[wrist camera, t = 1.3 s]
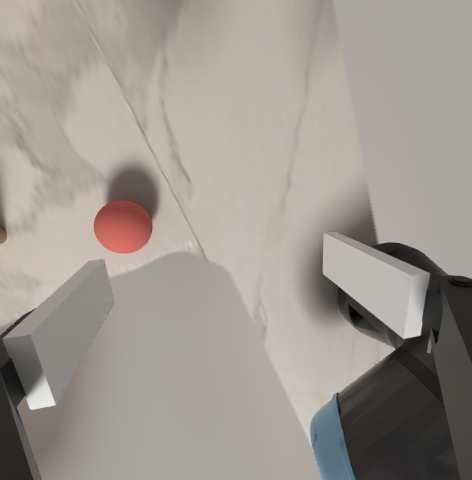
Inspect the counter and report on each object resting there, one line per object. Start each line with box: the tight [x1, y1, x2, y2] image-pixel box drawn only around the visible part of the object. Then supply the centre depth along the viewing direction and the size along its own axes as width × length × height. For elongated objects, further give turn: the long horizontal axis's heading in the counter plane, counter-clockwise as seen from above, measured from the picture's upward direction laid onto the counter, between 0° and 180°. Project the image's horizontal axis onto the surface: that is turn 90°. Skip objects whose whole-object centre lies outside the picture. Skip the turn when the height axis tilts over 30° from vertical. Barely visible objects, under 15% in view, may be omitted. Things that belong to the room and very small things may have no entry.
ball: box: [94, 200, 152, 253], centre depth 28 cm, size 6×6×6 cm
